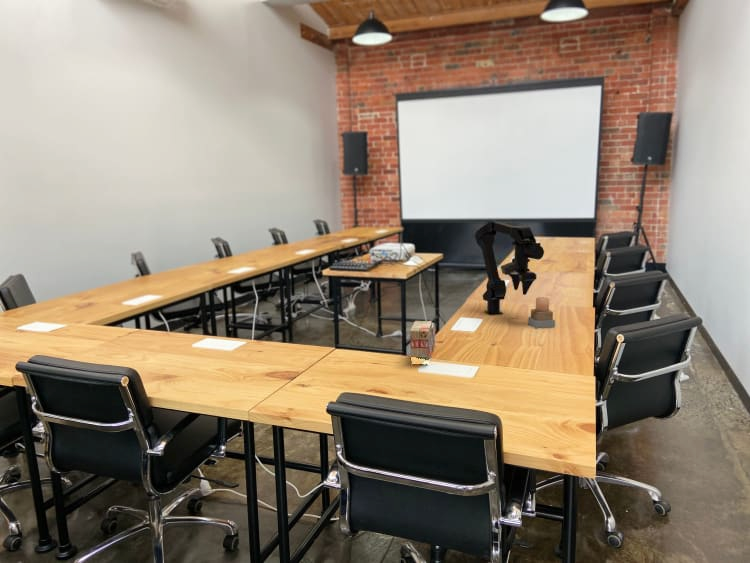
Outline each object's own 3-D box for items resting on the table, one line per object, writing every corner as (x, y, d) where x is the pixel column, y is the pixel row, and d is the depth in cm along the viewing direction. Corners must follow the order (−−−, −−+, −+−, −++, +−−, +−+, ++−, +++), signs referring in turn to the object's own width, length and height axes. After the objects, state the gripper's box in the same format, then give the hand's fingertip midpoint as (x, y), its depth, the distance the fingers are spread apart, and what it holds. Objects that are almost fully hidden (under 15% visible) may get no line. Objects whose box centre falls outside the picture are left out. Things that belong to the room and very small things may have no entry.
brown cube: (533, 309, 228) (533, 297, 227) (544, 308, 229) (545, 296, 228) (539, 312, 223) (539, 300, 222) (551, 311, 224) (551, 299, 223)
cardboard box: (418, 346, 204) (417, 314, 202) (435, 346, 203) (434, 314, 200) (410, 365, 183) (409, 329, 181) (429, 365, 182) (428, 330, 180)
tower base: (528, 324, 230) (528, 316, 230) (546, 323, 231) (546, 315, 231) (536, 329, 223) (536, 321, 222) (554, 328, 224) (554, 320, 223)
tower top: (530, 317, 229) (530, 309, 228) (545, 316, 230) (545, 308, 229) (537, 321, 223) (538, 312, 222) (552, 320, 224) (552, 311, 223)
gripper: (495, 254, 238) (494, 288, 241) (511, 260, 220) (510, 298, 223) (519, 253, 239) (518, 287, 243) (537, 259, 221) (536, 296, 224)
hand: (520, 292), depth 233 cm, fingers open, 9 cm apart
